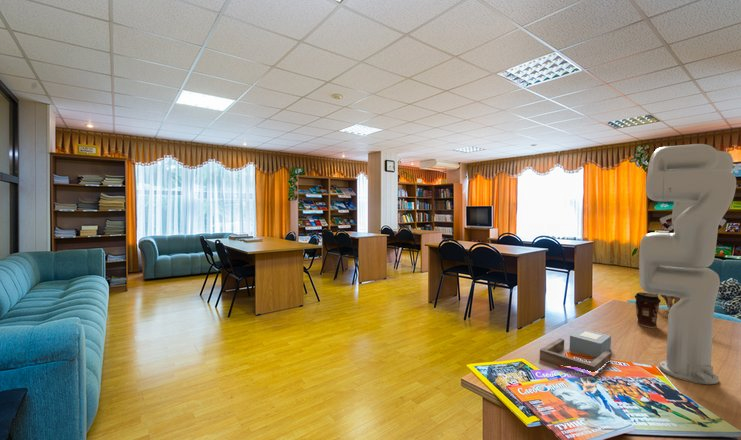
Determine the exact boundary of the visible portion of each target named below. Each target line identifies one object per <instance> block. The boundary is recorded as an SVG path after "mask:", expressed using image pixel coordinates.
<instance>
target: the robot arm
mask: <svg viewBox="0 0 741 440" xmlns="http://www.w3.org/2000/svg"><path fill="white" fill-rule="evenodd" d="M733 167H734V159H733V156H732V154H731V153H730V152H728V151H723V150H722V151H721V150H717V149H716V148H715V147H713V146H712V145H709V144H705V143H692V144H681V145H668V146H667V145H666V146H661V147H658V148H656V149H655V151H653V152H652V154H651V156H650V159H649V162H648V168H647V175H646V181H645V194H646V196H647V198H648V199H649V200H651V201H653V202H673V205H672V213H671V214H669V215H665V216H663V217H660V218H659V221H660V223H661V224H662V226H663V227H664V228H666V229H667V231H668V232H649V233H646V234H644V236H643V237H642V238H641V241H640V245H639V250H638V251H639V255H638V256H639V257H638V258H639V260H638V261H639V265H638V266H639V268H638V271H639V272H638V273H639V274H638V277H639V278H638V280H639V286H640V287H641V289H642V290H643V292H644V291H645V293H651V294H658V295H660V296H661V295H667V296H674V297H679V298H681V299H680V300H679V301H678V302H677V303H675V304H674V303H673V306H672V307H671V308H670V310H669V313H668V312H667V313H668V315H667V317H668V318H667V339H666V340H667V342H666V360H663V361H660V362H659V367H658V368H660V370H661V371H662V372H663V373H665V374H667V375H669V376H672V377H674V378H676V379H679V380H682V381H686V382H689V383H690V382H691V383H695V384H701V385H715V384H718V382H719V379H720V378H719V376H718V375H717V374H716V373H715V372H713V371H714V366H712V355H713V354H712V351H713V335H714V332H713V331H714V316H715V315H714V314H715V308H716V307H715V305H716V302H717V297H718V294H719V290H720V285H721V283H720V282H721V279H720V276H719V274H718V273H717V272H716V271H714V270H713V269H711V268H709V267H710V266H712V265H713V262H715V255H716V250H717V242H718V241H717V240H718V231H719V230H720V229H721V228H722V227H723V226H724V225H725V224H726V222H727V220H726V219H725V218H723V217H724V216H725V214H726V213H727V212H728V210H729V208H730V206H731V204H732V203H733V201H734V199H735V198H734V197H735V194H736V188H737V178H736V176H735V174H734V173H733V172H732V170H733ZM670 219H671V225H669V223H668V222H667V220H670Z"/></svg>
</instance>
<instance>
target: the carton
mask: <svg viewBox="0 0 741 440" xmlns="http://www.w3.org/2000/svg"><path fill="white" fill-rule="evenodd" d="M611 343H612V335H609V334H604V333H601V332H596V331H593V330H588V329H584V328H580V329H578V330H577V331H575V332H574V333H571V334H570V335H569V350H570V351H573V352H577V353H580V354H584V355H587V356H591V357H595V358H597V357H598V356H600V355H601V354H602V353H603V352H605V351H608V352H610V351H611V348H612V347H611V346H612V345H611Z"/></svg>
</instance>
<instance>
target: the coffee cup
mask: <svg viewBox="0 0 741 440" xmlns="http://www.w3.org/2000/svg"><path fill="white" fill-rule="evenodd" d="M634 298H635V311H636V317H637V323H636V324H637V325H638V326H641V327H643V328H644V327H646V328H648V329H649V328H650V329H651V328H652V329H653V328H655V329H656V328H657V326H658V325H657V322H658V321H657V320H658V313H659V307H660V303H661V299H660V298H659V295H658V296H657V295H655V294H653V293H648V292H644V291H643V292H637V293H636V294H635V295H634Z"/></svg>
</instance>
